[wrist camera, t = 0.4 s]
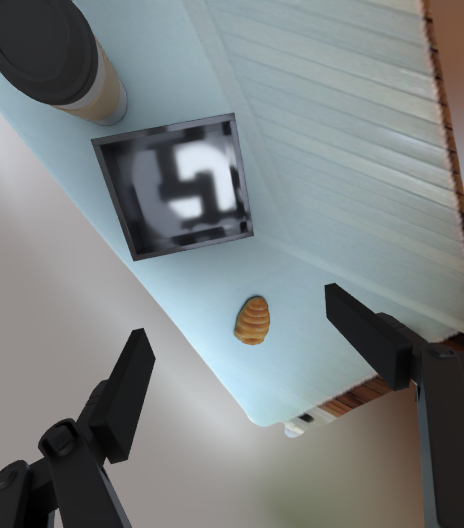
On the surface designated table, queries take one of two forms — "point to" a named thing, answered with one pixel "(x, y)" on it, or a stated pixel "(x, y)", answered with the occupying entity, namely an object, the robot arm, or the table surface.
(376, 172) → the table surface
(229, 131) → the dark grey open box
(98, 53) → the coffee cup
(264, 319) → the pastry
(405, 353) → the robot arm
